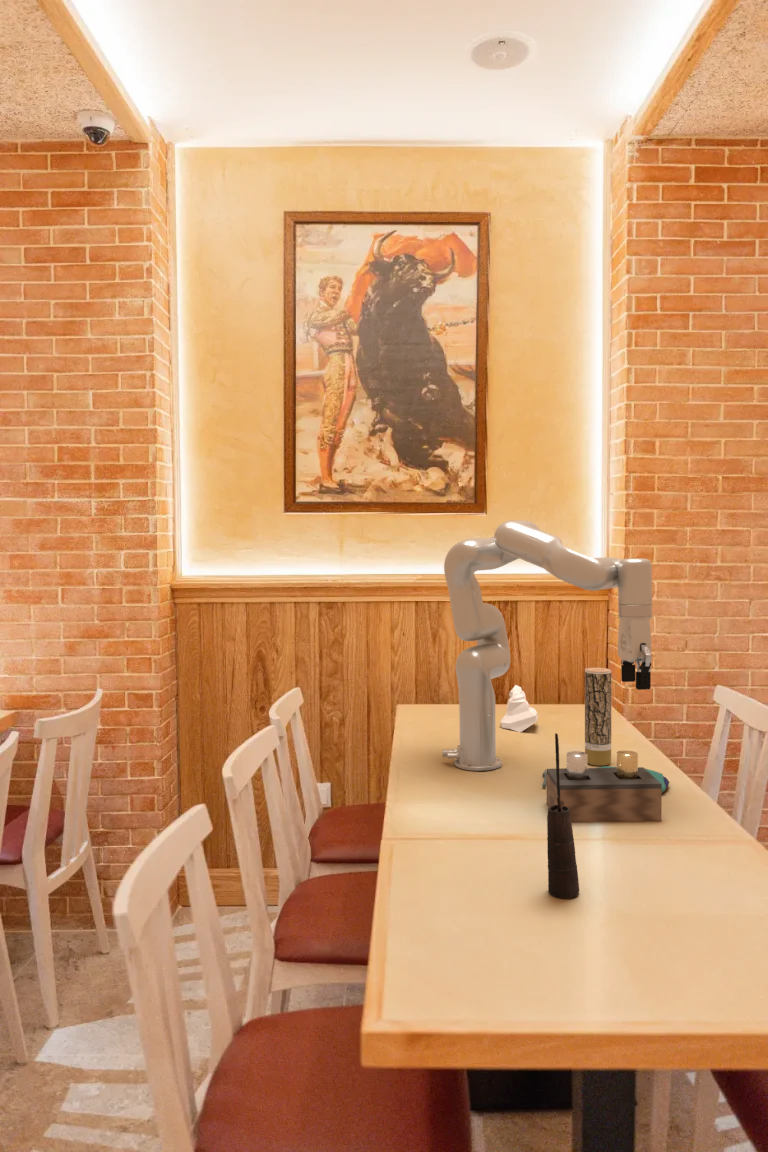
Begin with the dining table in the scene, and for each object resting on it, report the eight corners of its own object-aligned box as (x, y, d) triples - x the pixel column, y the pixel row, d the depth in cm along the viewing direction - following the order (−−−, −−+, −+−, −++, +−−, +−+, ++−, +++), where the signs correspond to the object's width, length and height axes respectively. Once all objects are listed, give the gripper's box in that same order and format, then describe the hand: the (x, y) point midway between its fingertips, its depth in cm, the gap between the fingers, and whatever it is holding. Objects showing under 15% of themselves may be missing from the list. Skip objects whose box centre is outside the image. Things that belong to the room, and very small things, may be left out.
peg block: (558, 822, 171) (558, 785, 171) (546, 803, 183) (546, 768, 183) (661, 820, 171) (661, 783, 171) (643, 801, 183) (643, 767, 183)
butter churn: (551, 873, 146) (551, 720, 144) (601, 887, 140) (601, 728, 138) (526, 891, 139) (525, 731, 137) (577, 907, 133) (577, 739, 131)
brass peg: (620, 788, 175) (620, 756, 174) (614, 781, 179) (614, 750, 179) (640, 787, 175) (640, 755, 174) (634, 781, 179) (634, 750, 179)
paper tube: (605, 768, 209) (605, 673, 208) (580, 763, 213) (580, 670, 212) (615, 762, 215) (615, 669, 213) (590, 758, 219) (591, 666, 218)
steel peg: (569, 788, 175) (569, 756, 174) (564, 782, 179) (564, 751, 179) (589, 788, 175) (589, 756, 174) (584, 782, 179) (584, 751, 179)
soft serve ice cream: (499, 737, 248) (488, 692, 250) (506, 729, 262) (496, 687, 264) (539, 729, 245) (527, 684, 246) (544, 722, 259) (533, 679, 260)
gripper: (607, 608, 194) (607, 679, 195) (632, 615, 177) (632, 693, 178) (637, 608, 195) (638, 678, 195) (665, 615, 177) (666, 692, 178)
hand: (635, 685), depth 187 cm, fingers open, 9 cm apart
